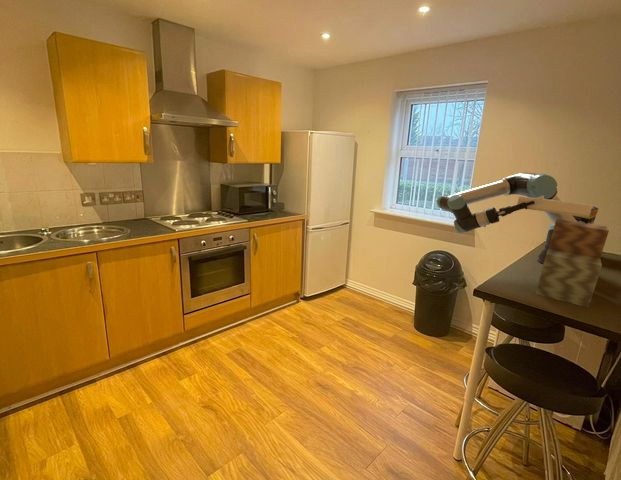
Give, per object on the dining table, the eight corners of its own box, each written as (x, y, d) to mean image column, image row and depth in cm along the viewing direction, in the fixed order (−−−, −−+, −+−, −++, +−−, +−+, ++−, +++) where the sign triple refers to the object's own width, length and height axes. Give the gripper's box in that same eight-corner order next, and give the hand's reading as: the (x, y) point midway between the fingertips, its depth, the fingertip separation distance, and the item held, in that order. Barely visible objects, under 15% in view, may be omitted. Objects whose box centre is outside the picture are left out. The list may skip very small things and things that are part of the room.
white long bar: (516, 207, 152) (519, 196, 151) (517, 206, 155) (520, 196, 154) (588, 217, 136) (592, 205, 135) (588, 216, 139) (592, 204, 138)
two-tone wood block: (535, 293, 144) (553, 226, 136) (540, 278, 164) (556, 219, 156) (588, 307, 133) (611, 235, 126) (586, 289, 153) (606, 226, 146)
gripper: (494, 222, 168) (548, 205, 153) (486, 226, 155) (545, 208, 140) (489, 208, 168) (542, 190, 153) (481, 211, 155) (538, 191, 140)
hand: (543, 198), depth 147 cm, fingers closed on white long bar, 4 cm apart
